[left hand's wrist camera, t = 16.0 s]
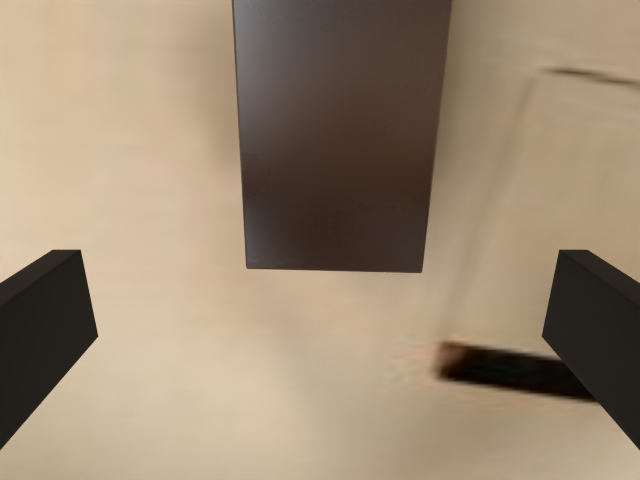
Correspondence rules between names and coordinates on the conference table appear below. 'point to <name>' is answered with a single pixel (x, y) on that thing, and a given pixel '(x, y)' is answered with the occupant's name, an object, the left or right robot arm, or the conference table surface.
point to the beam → (338, 130)
